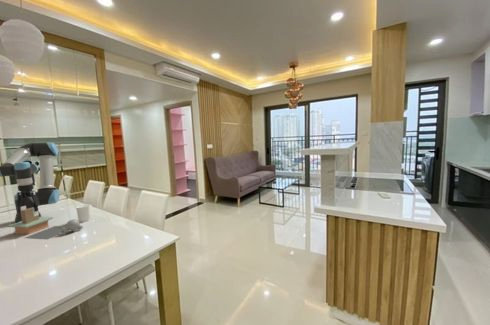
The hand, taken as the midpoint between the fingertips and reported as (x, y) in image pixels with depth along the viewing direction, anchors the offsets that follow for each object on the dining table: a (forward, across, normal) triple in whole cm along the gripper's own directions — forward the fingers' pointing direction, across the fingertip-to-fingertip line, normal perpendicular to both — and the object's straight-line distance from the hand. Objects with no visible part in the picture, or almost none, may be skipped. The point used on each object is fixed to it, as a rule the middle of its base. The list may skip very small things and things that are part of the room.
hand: (30, 215), depth 150 cm
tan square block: (+11, 0, 0) cm, 11 cm away
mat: (+11, +19, -2) cm, 22 cm away
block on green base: (+5, 0, 0) cm, 5 cm away
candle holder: (+11, +23, +20) cm, 33 cm away
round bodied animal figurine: (+11, +34, 0) cm, 35 cm away
